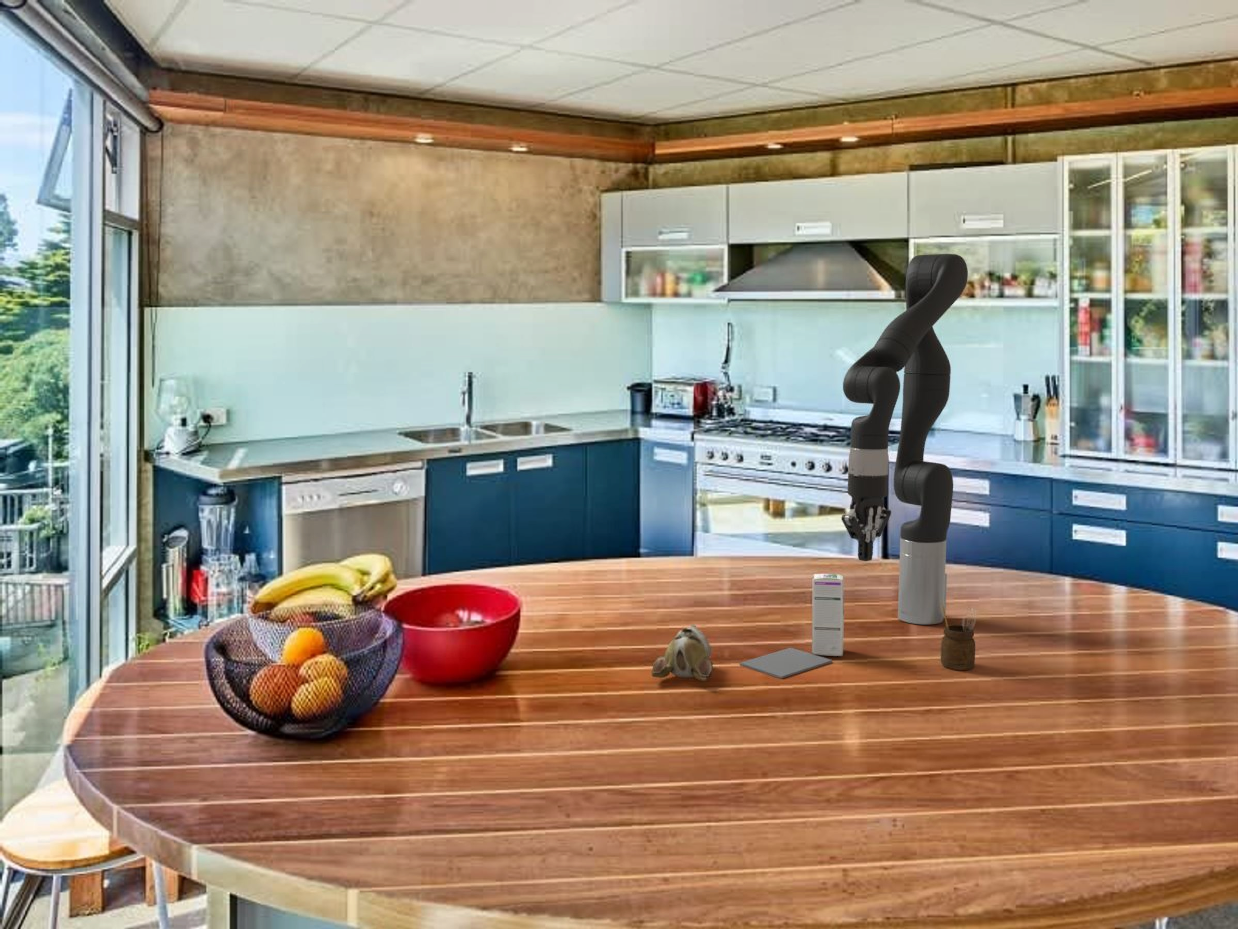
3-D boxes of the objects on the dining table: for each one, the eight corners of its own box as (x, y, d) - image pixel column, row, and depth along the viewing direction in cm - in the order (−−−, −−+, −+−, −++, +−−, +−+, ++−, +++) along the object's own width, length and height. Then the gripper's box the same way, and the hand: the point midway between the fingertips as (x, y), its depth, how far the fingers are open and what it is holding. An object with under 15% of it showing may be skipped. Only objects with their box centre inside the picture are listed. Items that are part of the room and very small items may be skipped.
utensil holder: (976, 672, 191) (979, 606, 189) (940, 670, 192) (942, 605, 191) (972, 661, 197) (975, 598, 195) (937, 659, 198) (939, 596, 196)
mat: (790, 649, 204) (790, 647, 204) (832, 662, 197) (832, 660, 197) (739, 665, 196) (739, 662, 195) (781, 678, 188) (781, 676, 188)
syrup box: (843, 656, 199) (845, 578, 198) (810, 654, 200) (812, 577, 199) (842, 649, 204) (844, 574, 203) (811, 647, 205) (813, 572, 205)
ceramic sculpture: (722, 617, 195) (708, 646, 181) (722, 662, 197) (709, 695, 182) (664, 614, 198) (647, 642, 183) (665, 658, 199) (648, 690, 185)
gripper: (873, 466, 212) (870, 552, 214) (830, 472, 203) (827, 561, 206) (905, 470, 206) (901, 559, 208) (862, 476, 198) (859, 568, 200)
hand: (865, 560), depth 207 cm, fingers closed
